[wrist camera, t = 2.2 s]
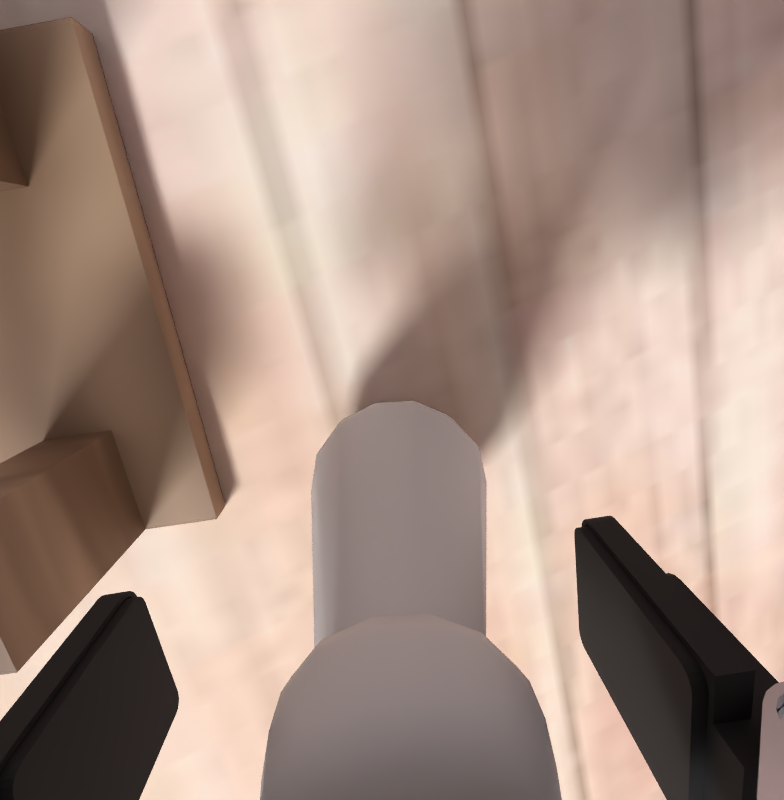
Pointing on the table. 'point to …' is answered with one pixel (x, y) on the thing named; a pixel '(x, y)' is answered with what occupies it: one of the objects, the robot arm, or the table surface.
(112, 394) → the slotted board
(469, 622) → the salt shaker
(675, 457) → the table surface
